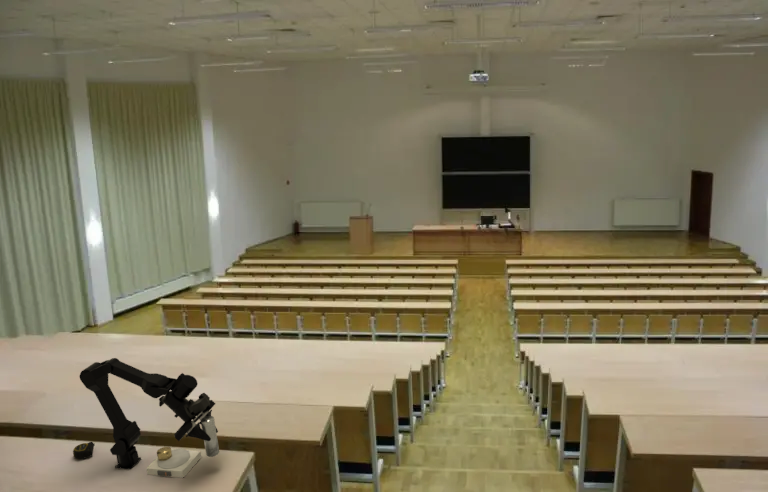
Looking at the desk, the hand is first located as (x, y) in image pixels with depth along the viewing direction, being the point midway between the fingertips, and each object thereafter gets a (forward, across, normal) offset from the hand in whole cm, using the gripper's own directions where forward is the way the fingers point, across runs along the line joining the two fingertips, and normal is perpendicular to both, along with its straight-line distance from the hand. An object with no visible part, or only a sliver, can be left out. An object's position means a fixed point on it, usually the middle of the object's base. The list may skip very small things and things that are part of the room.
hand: (213, 436), depth 203 cm
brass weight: (-8, 0, +22) cm, 23 cm away
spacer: (+4, 0, +6) cm, 7 cm away
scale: (-3, 0, +22) cm, 22 cm away
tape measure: (-30, +2, +50) cm, 58 cm away
